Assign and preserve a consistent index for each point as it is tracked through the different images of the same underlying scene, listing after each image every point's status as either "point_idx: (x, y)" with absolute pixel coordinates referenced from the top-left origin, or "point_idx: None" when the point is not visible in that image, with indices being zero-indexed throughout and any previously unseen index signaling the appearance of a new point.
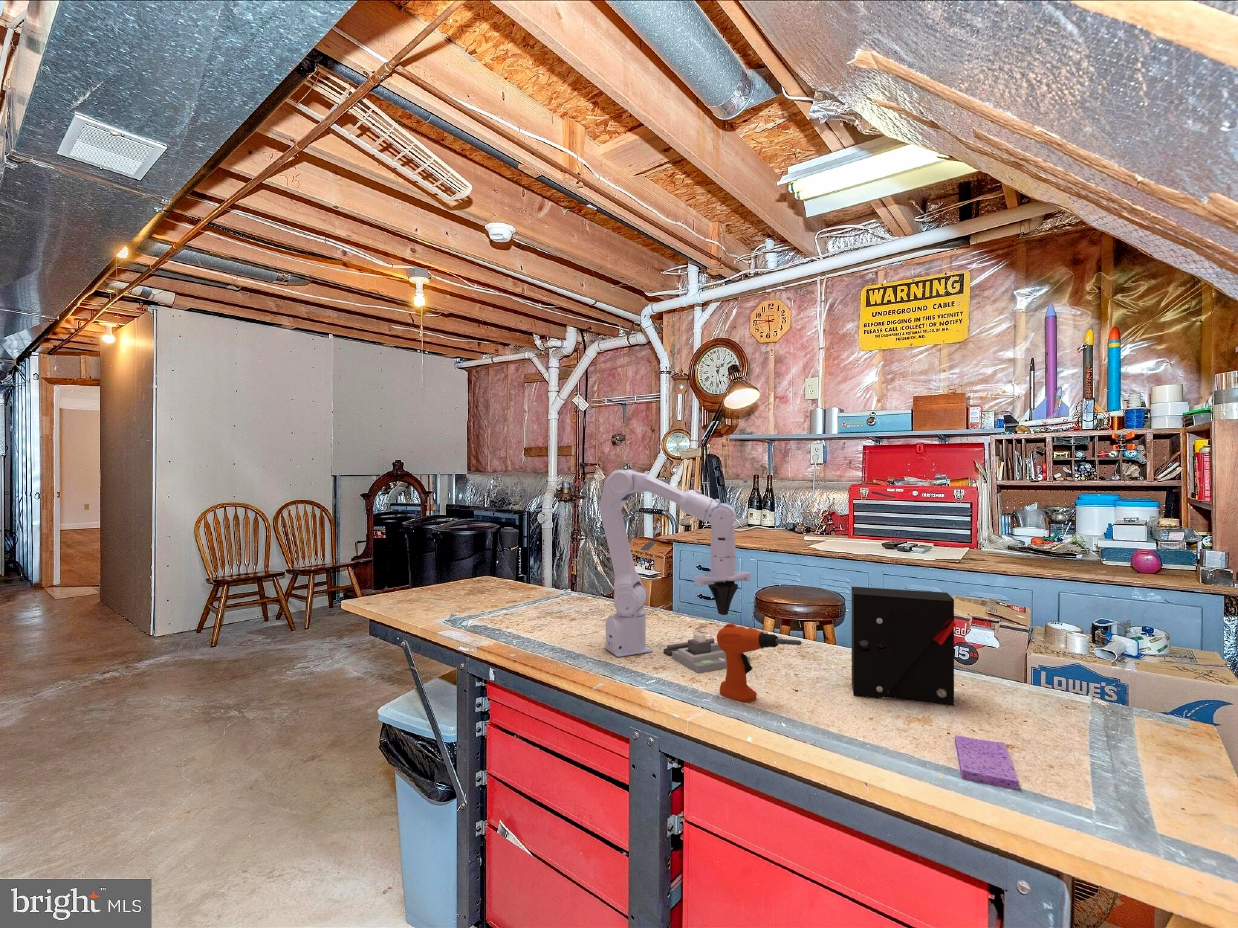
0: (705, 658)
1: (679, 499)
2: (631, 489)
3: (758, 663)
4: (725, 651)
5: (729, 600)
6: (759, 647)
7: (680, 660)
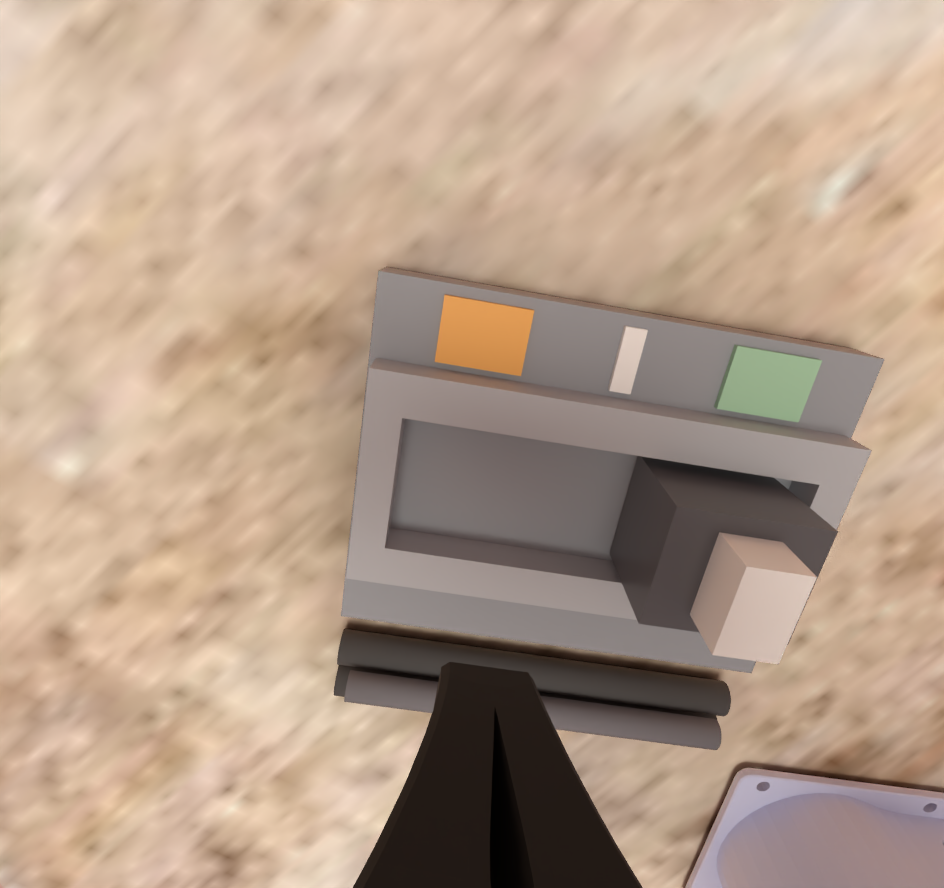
0: (743, 423)
1: None
2: None
3: (322, 230)
4: None
5: (444, 869)
6: None
7: None
